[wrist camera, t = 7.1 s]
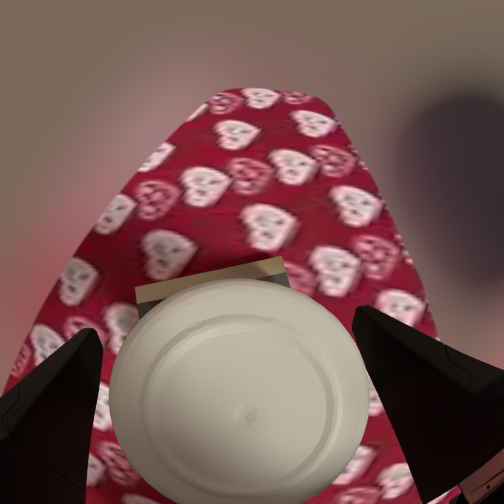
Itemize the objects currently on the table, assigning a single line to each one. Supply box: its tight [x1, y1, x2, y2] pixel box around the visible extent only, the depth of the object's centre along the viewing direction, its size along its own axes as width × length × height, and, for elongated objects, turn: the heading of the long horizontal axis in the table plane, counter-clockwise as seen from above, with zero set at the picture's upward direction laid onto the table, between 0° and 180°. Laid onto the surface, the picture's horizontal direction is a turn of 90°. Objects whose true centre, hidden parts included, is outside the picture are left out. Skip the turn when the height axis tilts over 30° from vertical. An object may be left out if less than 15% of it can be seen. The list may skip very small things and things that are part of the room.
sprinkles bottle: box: [109, 279, 370, 504], centre depth 10 cm, size 5×5×13 cm
